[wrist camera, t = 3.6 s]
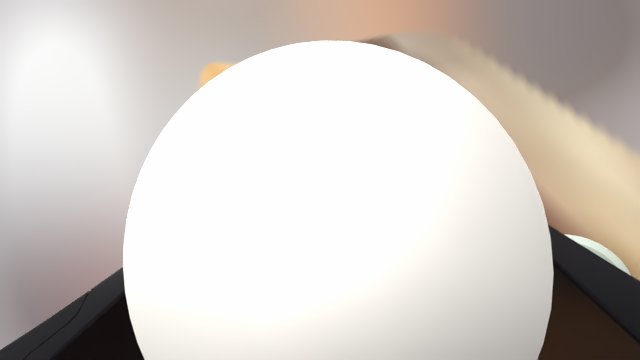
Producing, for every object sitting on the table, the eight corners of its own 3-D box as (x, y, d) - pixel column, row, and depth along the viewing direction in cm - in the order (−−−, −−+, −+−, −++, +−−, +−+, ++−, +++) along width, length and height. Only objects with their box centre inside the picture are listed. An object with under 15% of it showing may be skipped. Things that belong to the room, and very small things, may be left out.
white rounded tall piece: (415, 276, 14) (599, 549, 3) (304, 274, 16) (107, 451, 4) (406, 163, 15) (514, 4, 4) (302, 171, 17) (136, 71, 5)
